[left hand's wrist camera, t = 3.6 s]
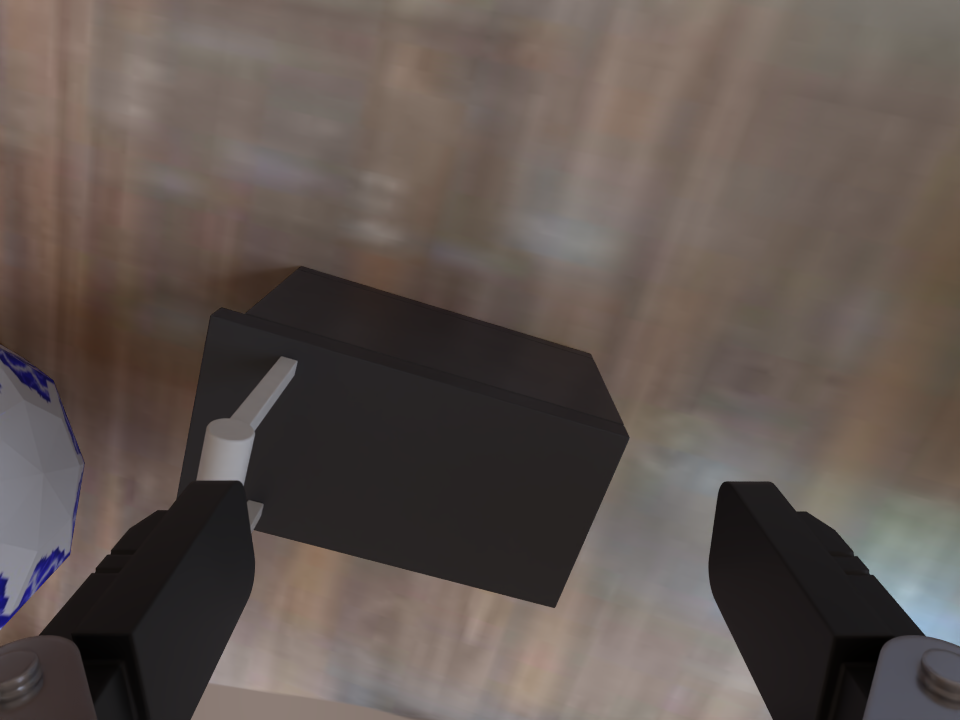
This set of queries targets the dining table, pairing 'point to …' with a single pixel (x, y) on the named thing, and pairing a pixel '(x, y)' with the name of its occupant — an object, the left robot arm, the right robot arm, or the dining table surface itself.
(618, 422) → the chest
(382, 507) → the lid
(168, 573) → the left robot arm
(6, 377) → the ornament
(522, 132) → the dining table surface
